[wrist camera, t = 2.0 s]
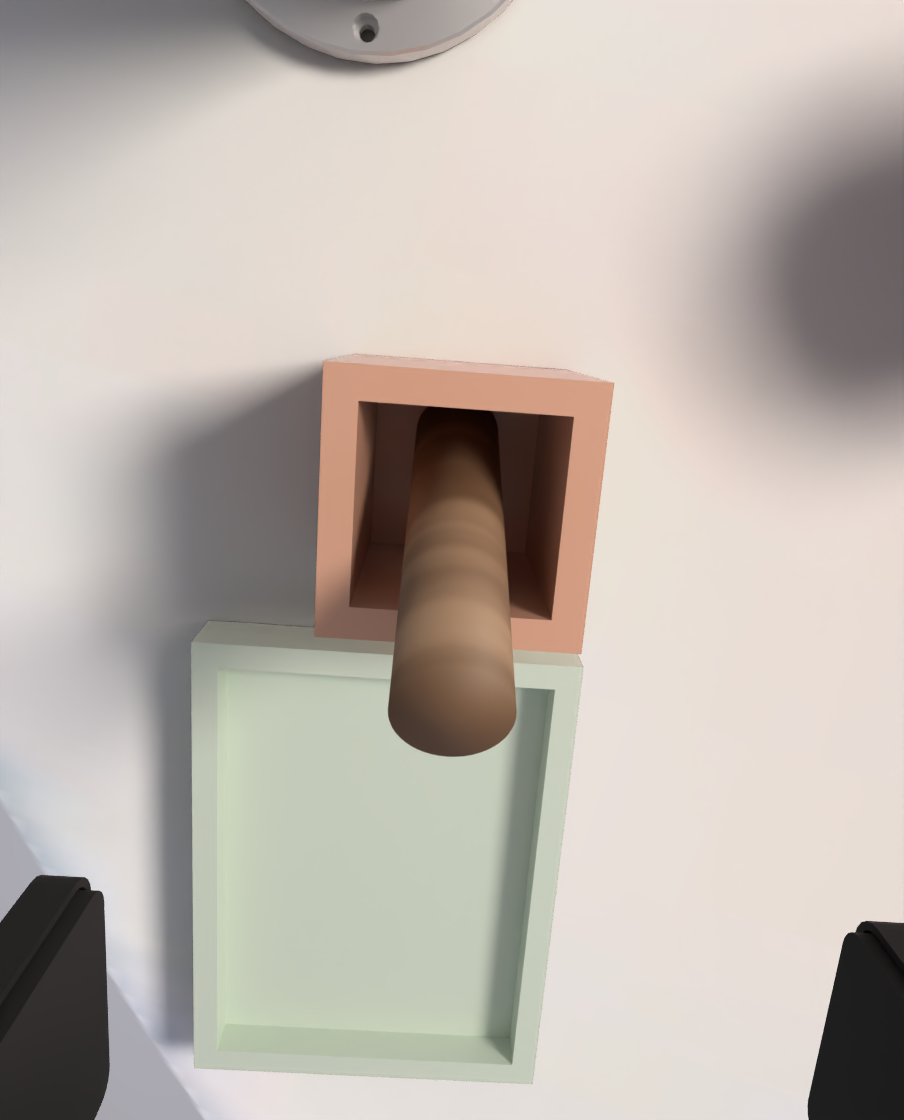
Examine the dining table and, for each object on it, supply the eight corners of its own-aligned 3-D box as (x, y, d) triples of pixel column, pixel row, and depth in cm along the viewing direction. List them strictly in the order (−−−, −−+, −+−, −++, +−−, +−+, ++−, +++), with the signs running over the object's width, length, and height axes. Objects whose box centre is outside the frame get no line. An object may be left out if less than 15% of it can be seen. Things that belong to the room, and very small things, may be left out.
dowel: (419, 389, 31) (402, 447, 17) (500, 395, 31) (546, 458, 17) (407, 585, 33) (383, 775, 19) (482, 590, 33) (512, 782, 19)
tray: (208, 620, 34) (190, 642, 32) (573, 644, 35) (583, 667, 32) (209, 1023, 39) (193, 1068, 37) (526, 1038, 40) (532, 1084, 37)
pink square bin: (355, 353, 32) (323, 361, 23) (566, 369, 32) (614, 382, 23) (346, 558, 34) (314, 637, 25) (544, 571, 34) (581, 653, 25)
